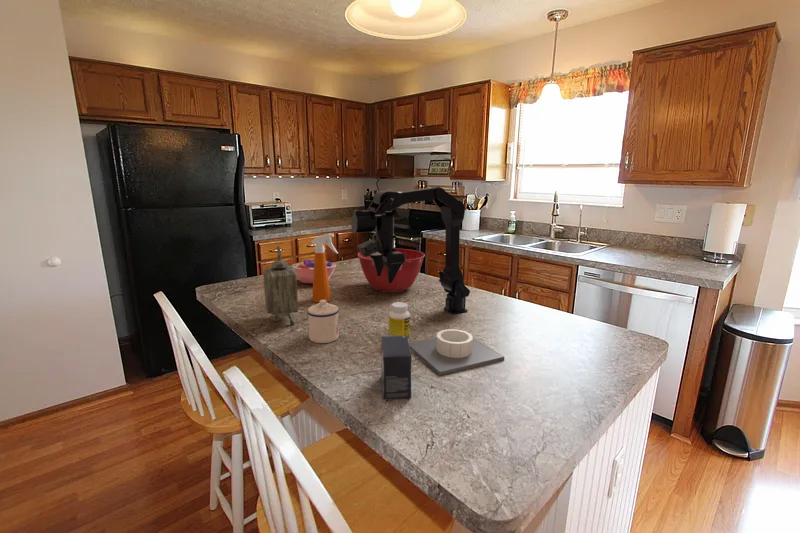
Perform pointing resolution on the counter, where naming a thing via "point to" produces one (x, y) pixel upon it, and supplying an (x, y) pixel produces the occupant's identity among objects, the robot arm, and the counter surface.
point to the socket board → (454, 362)
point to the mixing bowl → (402, 278)
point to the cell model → (310, 270)
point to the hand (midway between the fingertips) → (384, 279)
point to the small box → (396, 367)
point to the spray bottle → (321, 268)
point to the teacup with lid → (323, 322)
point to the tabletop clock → (280, 288)
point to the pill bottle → (399, 320)
